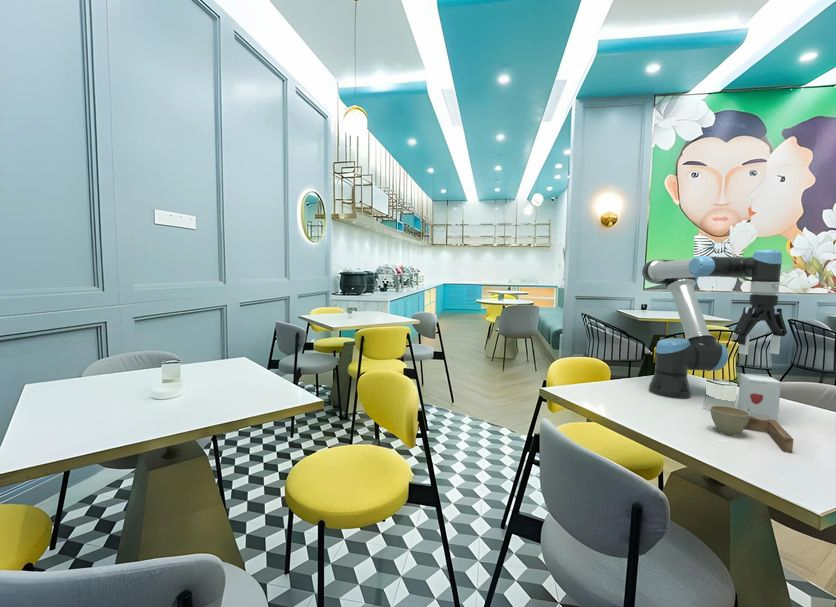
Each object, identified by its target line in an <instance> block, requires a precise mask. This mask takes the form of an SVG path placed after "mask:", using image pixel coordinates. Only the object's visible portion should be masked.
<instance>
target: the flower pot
mask: <svg viewBox="0 0 836 607" xmlns="http://www.w3.org/2000/svg"><path fill="white" fill-rule="evenodd" d="M709 410H710V415H711V419H712V422H713V423H714V424H713V425H714V426H715V428H716V430H717V431H718V432H720V433H722V434H724V435H728V436H739V435H740V434H741V433H742V432H743V431H744V430H745V429H744V428H745V427H746V425H747V423H748V421H749V419H750V415H751V414H750V413H749V412H747V411H744V410H741V409H738V408H737V407H734V406H727V405H712V406H709Z"/></svg>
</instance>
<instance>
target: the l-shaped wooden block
mask: <svg viewBox="0 0 836 607" xmlns="http://www.w3.org/2000/svg"><path fill="white" fill-rule="evenodd" d="M744 430H748V431H752V432H753V431H754V432H760V433H764V434H768V435H769V436H770V438H771V439H772V440H773V442H775V444H776V445H777V447H779V448H780V450H781V451H782V452H784V453H788V454H789V453H790V454H793V449H794V448H793V447H794V438H793V437H792V436H791V435H790V434H789V433H788V432H787V430H785V428H783V427H782V425H781V424H780V423H778V420H777V421H776V420H771V419H764V418H758V417H752V416H750V419H749V421H748V423H747V425H746V427H745V428H744Z"/></svg>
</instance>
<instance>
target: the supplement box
mask: <svg viewBox="0 0 836 607" xmlns="http://www.w3.org/2000/svg"><path fill="white" fill-rule="evenodd" d="M739 378H740V379H739V386H738V387H739V388H738V398H737V407H736V408H738V409H741V410H744V411H747V412H749V413H750V414H751V415H750V416H752V417H758V418H764V419H771V420H776V421H777V422H778V419H779V410H780V409H779V408H780V395H781V388H782V387H781V386H782V382H781V381H780V380H777V379H776V378H774V377H772V376H765V375H757V374H746V373H740V377H739Z"/></svg>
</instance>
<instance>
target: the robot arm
mask: <svg viewBox="0 0 836 607" xmlns="http://www.w3.org/2000/svg"><path fill="white" fill-rule="evenodd" d="M782 255H783V254H782V251H780V250H777V249H759V250H755V251H754V252H753V255H752V256H747V257H746V256H744V257H742V256H741V257H740V256H739V257H736V256H708V255H701V256H697V255H696V256H695V257H693V258H684V259H677V260H676V259H675V260H673V259H653V260H649V261H647V262H646V263H645V264H644V266H642V270H641V274H642V277H643V279H644V280H646V282H649V283H651V284H655V285H664V286H665V289H666V290H667V292H669V293H671V295H672V298H673V300H674V303H675V304H674V305H675V308H676V310H677V313H678V316H679V321H680V323H681V325H682V329H683V333H684V335H685V338H680V337H679V338H678V337H676V338H674V337H671V338H663V339H660V340H658V341H657V343H656V348H655V362H654V363H655V365H654V375H653V377H652V379H651V381H650V383H649V385H648V391H649V392H650V393H652V394H654V395H655V394H656V395H658V396H662V397H667V398H673V399H690V398H691V397H692V390H691V386H690V384H689V380H688V372H689V371H707V372H710V371H719V370H721V369H723V368H724V367H725V366H726V365H727V362H728V359H729V351H728V348H727V347H726V345H724V344H723V343H721V342H718V341H717V339H716V336H715V335H712V334H711V333H710V331H709V328H708V326H707V324H706V320H705V317H704V315H703V314H704V313H703V311H702V309H701V306H700V304H699V301H698V297H697V295H696V291H695V289H694V288H695V285H696V284H697V281H698V279H699V278H703V277H706V278H707V277H708V278H709V277H712V278H714V277H718V278H734V279H735V278H736V279H740V278H741V279H742V278H751V279H750V289H749V292H750V293H751V294H750V295H749V301H748V302H749V305H751V307H745V306H744V307H743V309H742V314H741V316H740V318H739V320H738V322H737V324H736V326H735V328H734V329H733V330H734V331H733V333H734V334H735V335H737V336H738V342H737V343H738V351H737V352H738V354H742V355H745V356H746V355H747V356H748V354H749V344H750V335H749V333H751V331H752V330H753V328H754V327H755V326H756V325H757V324H758V323H759V322H761V321H762V322H763V321H764V322H765V324H766V325H767V326H768V328H769V329H770V331H771V333H772V334H771V335H770V341H769V342H770V343H769V352H768V353H769V354H773V355H774V354H775V355H779V354H780V349H781V343H782V342H781V341H782V337H785V336H786V335H787V334H788V330H787V327H786V326H787V325H786V324H785V320H784V317H783V310H782V308H779V307H776V306H778V303H779V295H778V294H779V290H780V281H781V270H782V264H783V258H782V257H783V256H782Z"/></svg>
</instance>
